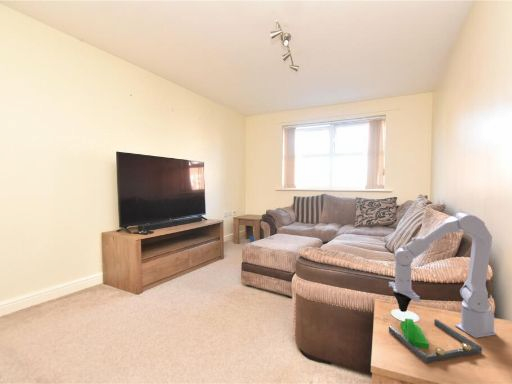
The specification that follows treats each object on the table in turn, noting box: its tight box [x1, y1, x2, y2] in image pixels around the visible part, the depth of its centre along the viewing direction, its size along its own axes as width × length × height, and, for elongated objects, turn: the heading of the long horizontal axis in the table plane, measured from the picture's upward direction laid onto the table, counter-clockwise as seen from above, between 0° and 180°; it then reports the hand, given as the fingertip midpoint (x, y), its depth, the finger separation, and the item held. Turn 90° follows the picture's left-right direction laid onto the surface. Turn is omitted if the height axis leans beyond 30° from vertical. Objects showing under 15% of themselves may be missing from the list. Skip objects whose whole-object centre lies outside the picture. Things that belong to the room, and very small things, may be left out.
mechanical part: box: [400, 318, 429, 350], centre depth 93 cm, size 12×6×8 cm, turn 161°
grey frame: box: [388, 318, 483, 364], centre depth 90 cm, size 21×18×3 cm
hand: (403, 310), depth 105 cm, fingers closed
